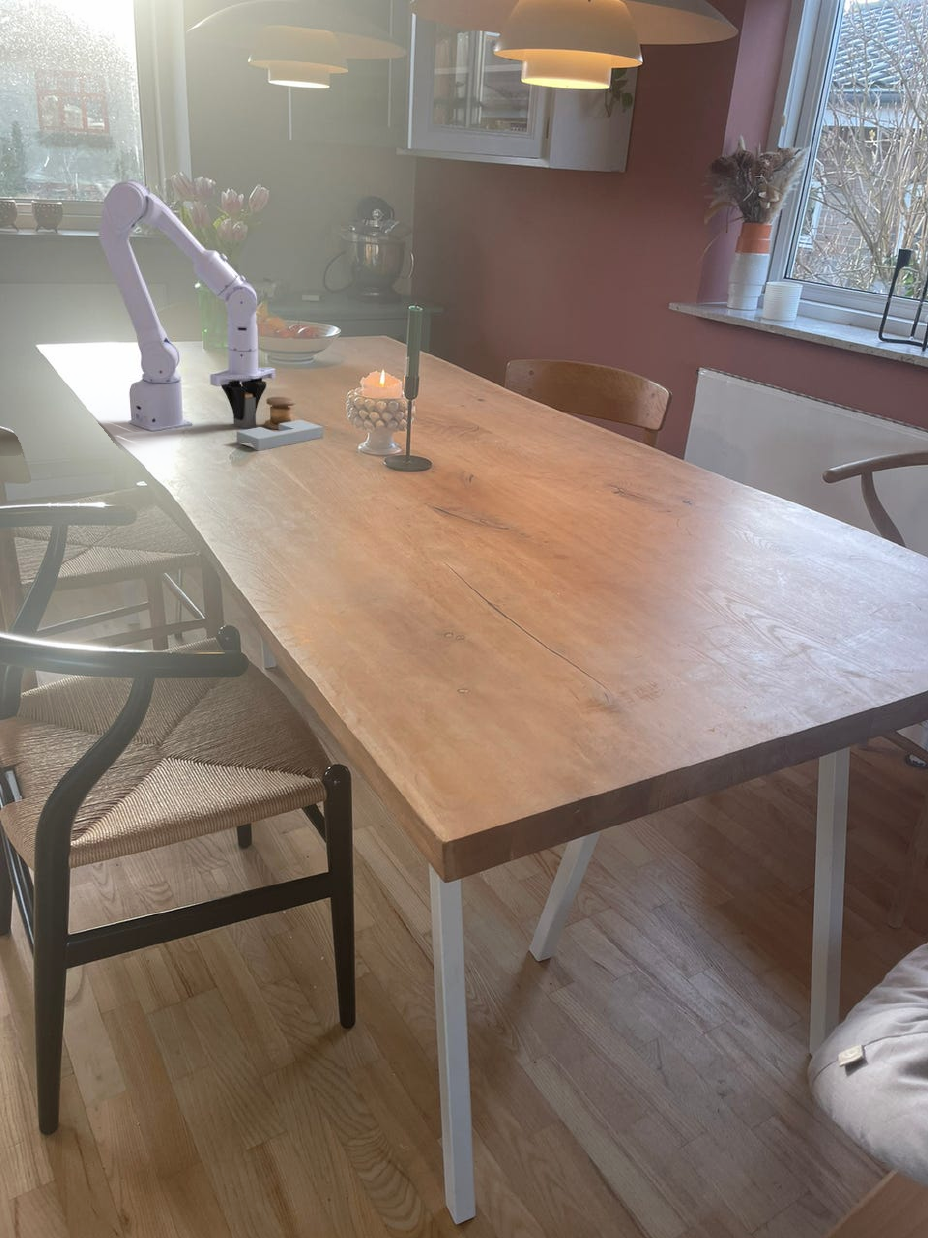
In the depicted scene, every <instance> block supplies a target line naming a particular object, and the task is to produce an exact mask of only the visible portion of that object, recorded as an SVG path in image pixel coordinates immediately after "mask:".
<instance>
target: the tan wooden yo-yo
mask: <svg viewBox="0 0 928 1238" xmlns="http://www.w3.org/2000/svg"><path fill="white" fill-rule="evenodd" d="M265 400H266V401H265V403H266V404H267V405H269V411H270V412H269V417H270V418H269V419H266V420H265V421H264V426H265V427H266V429H271V430H278V431H279V424H280V423H285V422H291V421H294V420H293V419H292V407H291V406H294V405H295V404H296V403H295V402H296V401H295V399H294V398H290V397H286V396H285V397H284V396H273V397H268V398H267V399H265Z"/></svg>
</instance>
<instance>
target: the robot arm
mask: <svg viewBox="0 0 928 1238" xmlns="http://www.w3.org/2000/svg"><path fill="white" fill-rule="evenodd" d="M102 206H103V207H102V213H101V218H100V223H99V227H98V240H99V242H100V245H101V247H102V250H103V252H104V255H105V258H106V260H107V262H108V265H109V267H110V270H111V272H112V275H113V278H114V280H115V283H116V285H117V288H118V290H119V293H120V294H121V298H122V300H123V303H124V305H125V307H126V311H127V313H128V316H129V318H130V320H131V323H132V325H133V328H134V331H135V333H136V339H137V345H138V349H139V351H140V355H141V359H140V366H141V370H142V372H143V374H142V376H141V377H142V378H141V380H140V381H137V382H136V381H135V382H134V383H132V384H131V385H130V387H129V392H128V395H129V404H130V405H129V406H130V407H129V408H130V418H131V419H130V420H129V424H131V425H134V426H137V427H140V428H142V429H145V430H146V431H150V432H158V431H163V430H169V429H170V430H171V429H173V428H174V429H176V428H181V427H186V426H192V425H193V422H192V421H190V420H187V419H184V415H183V413H184V412H183V392H182V376H181V375H180V374H179V373H178V372H177V370H176V368H177V367H178V365H179V363H180V353H179V350H178V349H177V347H176V346H175V344H173V342H171V341H170V339H169V337H168V335H167V332H166V331H165V329H164V327H163V326H162V324H161V322H160V319H159V317H158V314H157V311H156V308H155V306H154V304H153V300H152V298H151V296H150V293H149V290H148V287H147V285H146V283H145V279H144V277H143V275H142V271H141V269H140V267H139V264H138V261H137V259H136V256H135V254H134V250H133V248H132V245H131V243H130V238H131V236H132V234H133V231H134V229H135V227H136V225H137V224H138V223H139V221H140V220H141V219H142V218H143V220H142V222H141V223H142V224H144V225H147V226H151V227H153V228H154V227H155V228H157V229H160V230H161V231H162V232H163V233H164V234H165V235H166V236H167V237H168V238H169V239H170V240H171V241H172V242H173V243H174V244H175V245H176V246H177V247H178V248H179V249H180V250H181V251H182V252H183V253H184V254H185V255H186V256H187V257H189V259H191V261H192V262H193V270H194V271H193V272H194V273H195V275H196V276H198V278H199V279H200V280H201V281H202V282H203V283H204V284H205V285H206V286H207V288H209V289H210V290H211V292H212V293H213V294H215V295H216V296H217V298H218V299H221V300H224V303H225V308H226V310H227V315H228V322H227V325H226V326H227V355H228V356H227V359H228V360H227V361H228V365H227V366H228V369H227V370H223V371H220V372H217V373H211V374H210V375H209V378H210V379H209V381H210V385H211V386H215V387H221V389H222V390H223V392H224V394H225V396H226V397H227V399H228V403H229V404H230V409H231V411H232V416H234V418H236V419H239V420H243V415H244V398H245V393H246V392H248V393H251V394H253V397H256V412H258V411H257V410H258V407H259V403H260V400H261V398H262V395H263V394H264V391H265V390H266V389H267V382H266V381H263V380H265V379H271V380H272V379H273V380H274V379H276V369H275V368H274V367H270V366H269V367H267V366H266V367H259V340H258V339H259V338H258V337H259V335H258V334H259V333H258V332H259V331H258V330H259V329H258V324H257V322H258V316H257V309H258V307H259V306H258V305H259V304H258V295H257V293H256V290H254V288H253V286H252V284H250V283H249V282H246V278H245V277H244V275H239V274H238V273H237V272H236V270H234V268H233V267H232V266H231V265H230V264H229V263H228V262H227V260H228V257H227V256H226V255H225V253H221V254H220V253H219V252H218V251H216V250H215V249H214V250H213V249H212V250H211V249H210V250H209V249H207V248H206V249H205V247H204V246H203V245H202V244H201V243H200V242H199V241H198V239H197V238H196V237H195V236H194V235H193V234H192V232H190V231H189V229H188V228H187V227H186V226H185V224H183V222H182V221H181V220H180V219H179V217H177V216H176V215H175V213H173V211H172V210H171V209H170V208H169V207H168V206H167V205H166V204H165V203H164V202H163V201H162V200H161V199H160V198H159V197H158V196H156V195H155V194H154V193H152V192H150V191H149V190H148V188H147V186H145V184H143V183H142V182H140V181H137V180H134V179H129V180H128V179H126V180H124V181H119V182H117V183H115V184H114V185H112V186H111V188H110V189H109V191H108V193H107V194H106V195H105V197H104V198H103V203H102Z"/></svg>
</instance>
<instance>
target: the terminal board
mask: <svg viewBox="0 0 928 1238" xmlns="http://www.w3.org/2000/svg"><path fill="white" fill-rule="evenodd" d="M323 430H324V427H323V426H321V425H318V424H316V423H312V422H309V421H306V420H303V419H297V420H293V421H291V422H285V423H280V424H279V430H278V431H273V430H272V429H271V430H270V429H269V428H265V427H261V426H258V427H253V428H247V429H242V430H237V431H236V444H239V445H242V444H241V443H251V444H252V445H253V446H254V449H253V450H256V451H258V452H260V451H264V450H268V449H269V450H270V449H274V448H279V447H284V446H289V445H293V444H294V445H295V444H299V443H303V442H308V441H313V440H319V439H322V438H323V437H324V436H323V434H324V433H323Z"/></svg>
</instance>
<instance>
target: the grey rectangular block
mask: <svg viewBox="0 0 928 1238" xmlns="http://www.w3.org/2000/svg"><path fill="white" fill-rule="evenodd" d="M256 414H257V411H256V397H253V394H251V393H248V392H246V393H245V398H244V415H243V420H239V419H236V418H234V416H233V415H232V416H233V418H232V419H233V425H235V426H237V427H240V428H242V429H245V430H247V429H252V428H257V415H256Z"/></svg>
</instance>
